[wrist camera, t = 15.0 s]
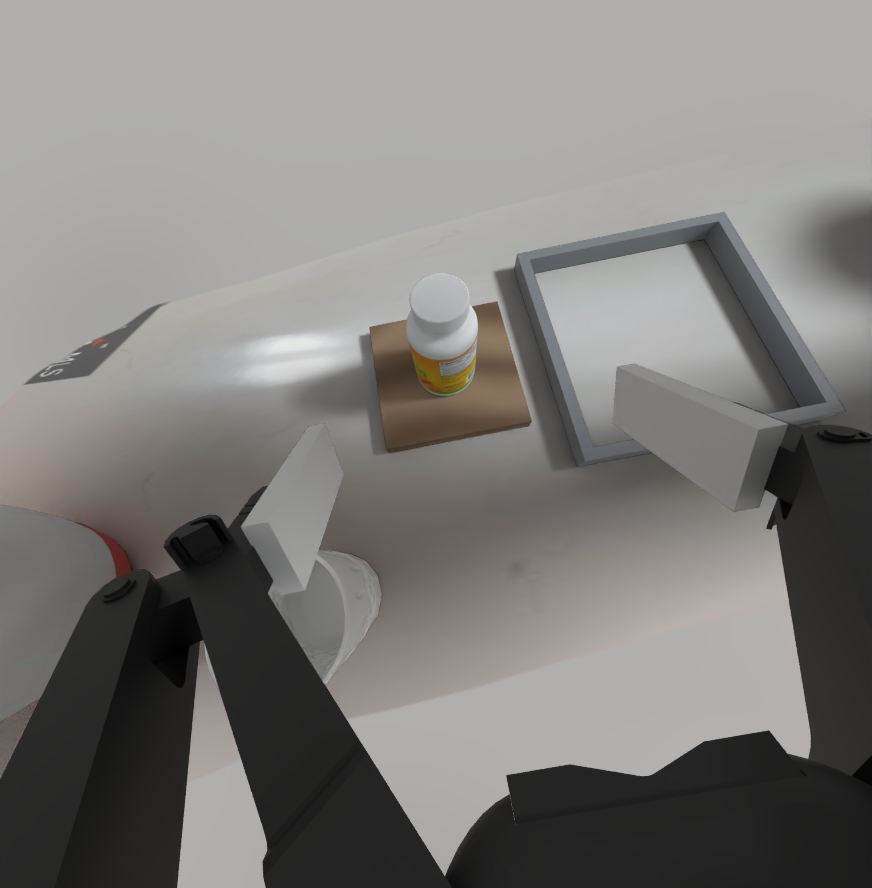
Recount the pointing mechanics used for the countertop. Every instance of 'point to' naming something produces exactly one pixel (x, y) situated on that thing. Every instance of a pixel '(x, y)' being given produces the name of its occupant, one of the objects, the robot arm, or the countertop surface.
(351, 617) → the white cup
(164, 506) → the countertop surface
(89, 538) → the citrus juicer
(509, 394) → the walnut board
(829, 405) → the tray frame
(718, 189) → the countertop surface
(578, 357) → the countertop surface
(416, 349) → the supplement bottle
